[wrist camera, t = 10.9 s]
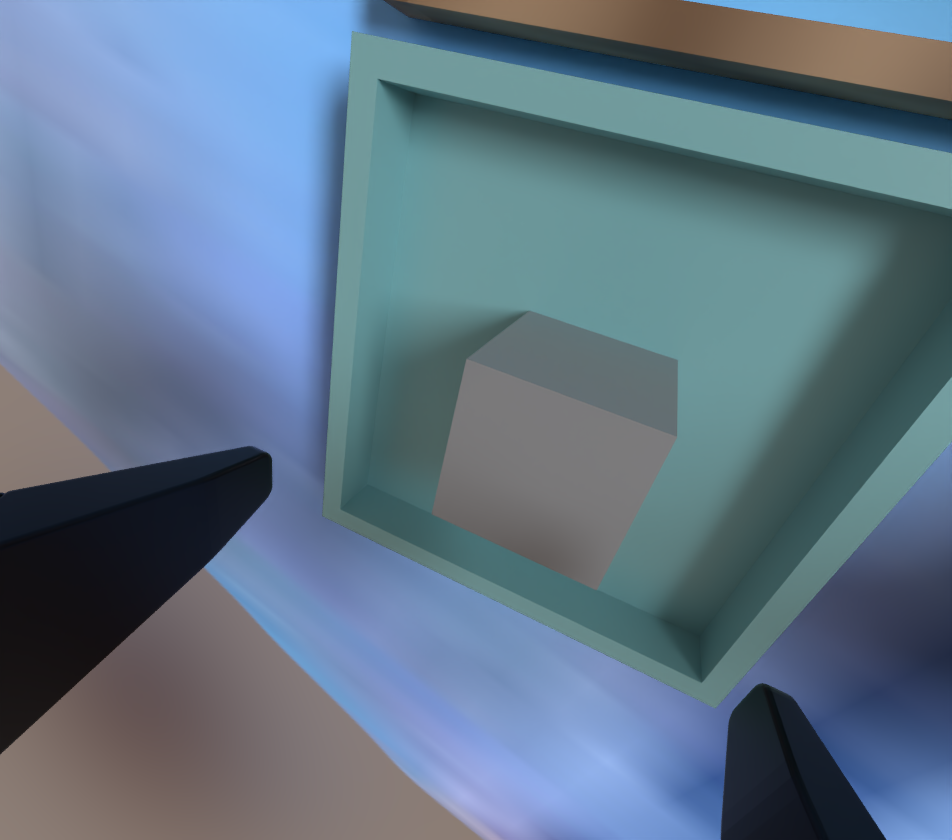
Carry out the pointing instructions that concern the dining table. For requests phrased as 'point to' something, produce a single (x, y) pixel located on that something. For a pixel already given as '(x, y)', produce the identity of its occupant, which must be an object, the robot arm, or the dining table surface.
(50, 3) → the dining table surface
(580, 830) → the dining table surface
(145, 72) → the dining table surface
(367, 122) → the bin
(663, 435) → the slate block
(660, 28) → the corral
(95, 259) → the dining table surface
